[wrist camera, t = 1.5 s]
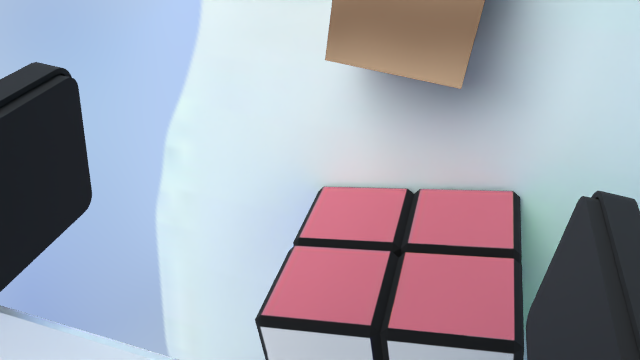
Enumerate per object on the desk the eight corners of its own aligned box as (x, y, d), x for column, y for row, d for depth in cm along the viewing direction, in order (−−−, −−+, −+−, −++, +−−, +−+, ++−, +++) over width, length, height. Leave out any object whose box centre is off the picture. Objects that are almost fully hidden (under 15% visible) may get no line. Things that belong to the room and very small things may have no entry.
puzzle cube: (318, 182, 30) (249, 319, 22) (520, 187, 27) (525, 347, 19) (342, 321, 35) (292, 474, 27) (514, 338, 32) (516, 515, 24)
